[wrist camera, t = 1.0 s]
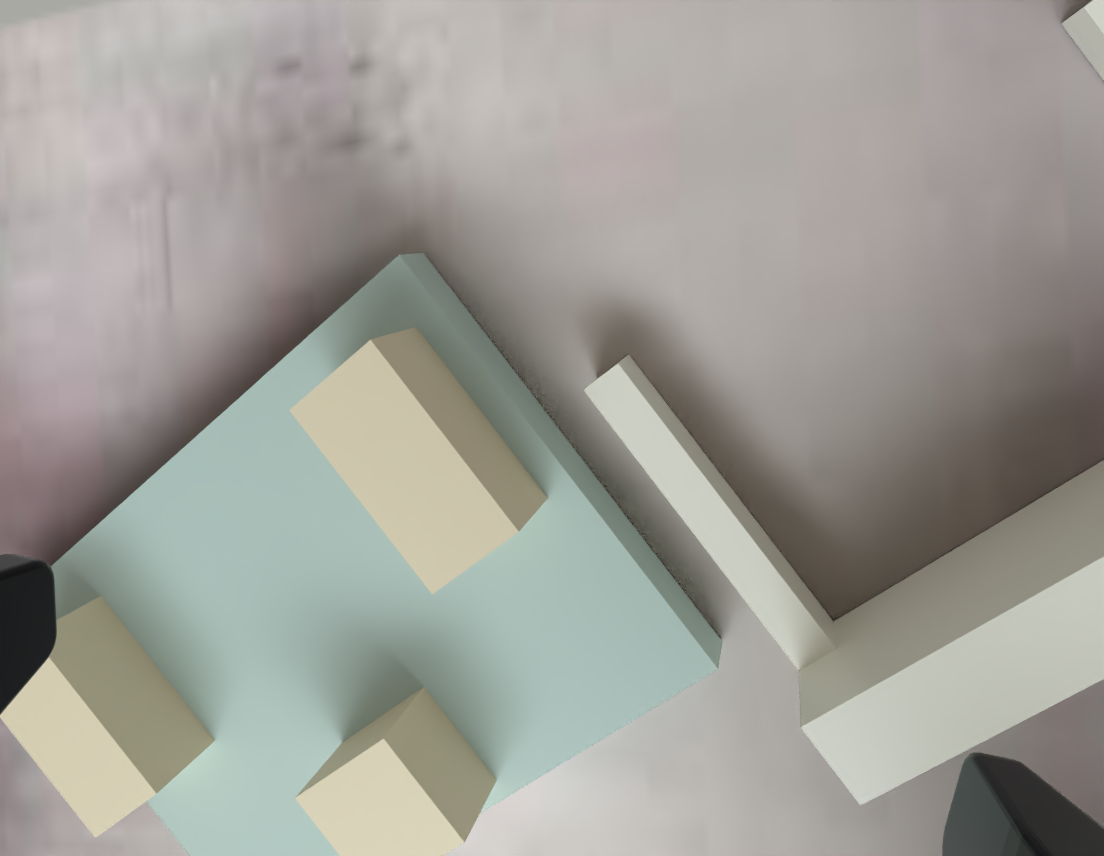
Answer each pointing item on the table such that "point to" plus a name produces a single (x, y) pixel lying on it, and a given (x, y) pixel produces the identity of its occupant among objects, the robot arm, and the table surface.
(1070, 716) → the table surface
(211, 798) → the display stand
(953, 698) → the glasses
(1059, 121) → the table surface
